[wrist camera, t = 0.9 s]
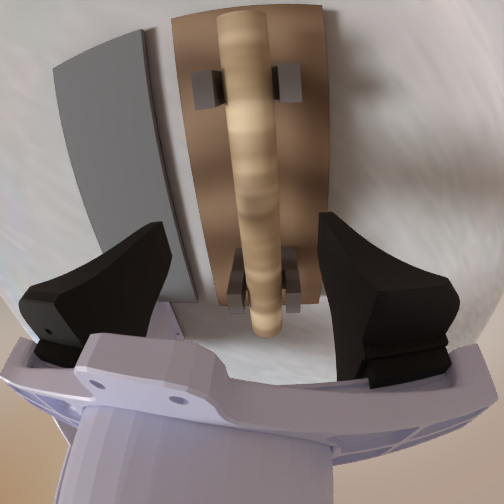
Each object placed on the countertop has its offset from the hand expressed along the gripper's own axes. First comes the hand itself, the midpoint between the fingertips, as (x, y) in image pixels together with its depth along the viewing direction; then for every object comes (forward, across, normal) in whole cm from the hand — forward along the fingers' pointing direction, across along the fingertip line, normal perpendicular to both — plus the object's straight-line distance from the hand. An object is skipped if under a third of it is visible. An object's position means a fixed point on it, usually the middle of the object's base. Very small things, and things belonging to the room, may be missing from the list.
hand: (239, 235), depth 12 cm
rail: (+5, -1, +1) cm, 5 cm away
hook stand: (+9, -1, +1) cm, 9 cm away
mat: (+9, +11, 0) cm, 15 cm away
